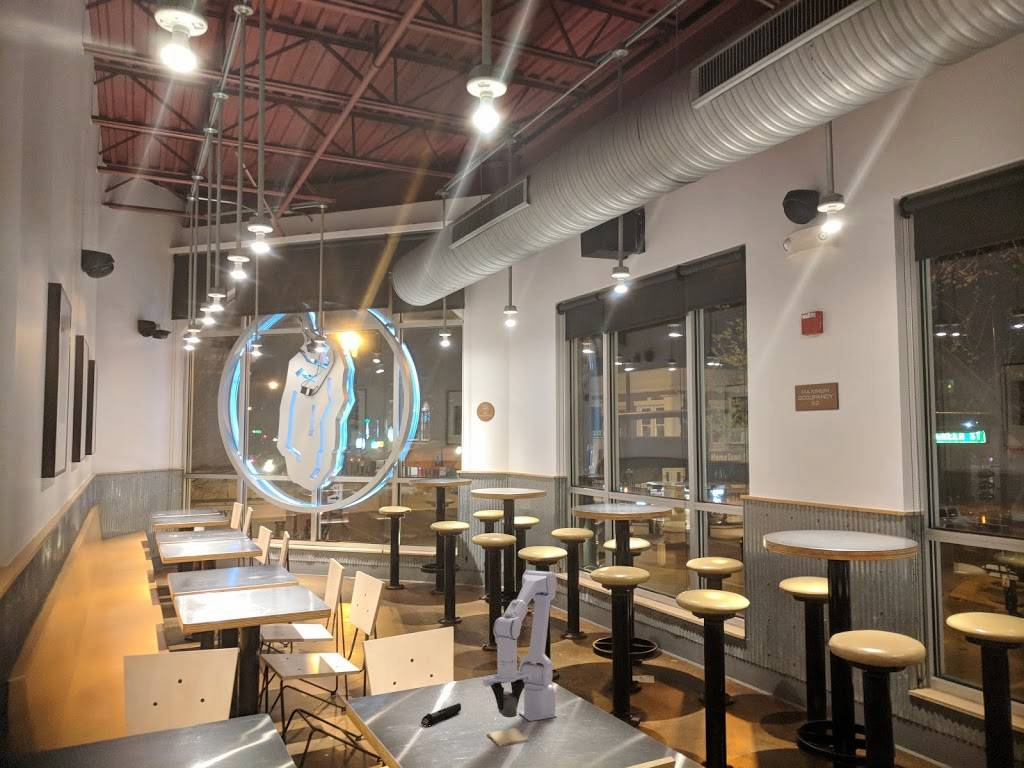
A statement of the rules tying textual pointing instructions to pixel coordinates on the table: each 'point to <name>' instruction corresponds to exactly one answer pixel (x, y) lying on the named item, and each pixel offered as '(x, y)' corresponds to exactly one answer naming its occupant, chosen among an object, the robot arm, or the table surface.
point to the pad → (507, 736)
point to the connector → (509, 705)
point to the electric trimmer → (441, 714)
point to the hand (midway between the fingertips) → (507, 708)
